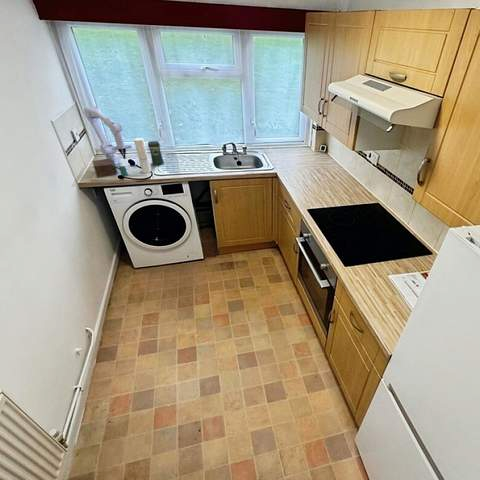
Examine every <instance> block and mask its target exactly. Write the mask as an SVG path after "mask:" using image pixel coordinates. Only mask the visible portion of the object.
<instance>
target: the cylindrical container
mask: <svg viewBox="0 0 480 480" xmlns="http://www.w3.org/2000/svg"><path fill="white" fill-rule="evenodd" d="M133 142H134V146H135V150H136V153H137V154H136V155H137V157H138V161H139V164H140V165H139V166H140V168H141V173H143V174H148V173H151V172H152V169H151V164H150V159H149V155H148V151H147V146H146V143H145V139H144V137H136V138H134V139H133Z"/></svg>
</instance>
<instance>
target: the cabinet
mask: <svg viewBox="0 0 480 480" xmlns="http://www.w3.org/2000/svg"><path fill="white" fill-rule="evenodd" d="M112 164H113V163H112V160H111V159H106V158H105V159H104V158H103V159H95V160H92V165H93V168H94V171H95V174H96V176H97V178H103V177H110V176H117V173H116V172H115V169H114V166H112Z"/></svg>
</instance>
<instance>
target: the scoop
mask: <svg viewBox="0 0 480 480" xmlns="http://www.w3.org/2000/svg"><path fill="white" fill-rule="evenodd" d="M112 166H114V167H116V170H118V171H119V173H120V175H121V177H127V176H128V170H127V168H126V166H125V165H121V166H120V167H117V166H115V165H114V164H112Z"/></svg>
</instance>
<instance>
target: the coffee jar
mask: <svg viewBox="0 0 480 480" xmlns="http://www.w3.org/2000/svg"><path fill="white" fill-rule="evenodd" d="M147 147H148V149H149V152H150V158H151V164H152V165H154V166H160V165H163V164H164V163H165V161H164V158H163V155H162V151H161V144H160V142H159V140H151V141H148V142H147Z"/></svg>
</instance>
